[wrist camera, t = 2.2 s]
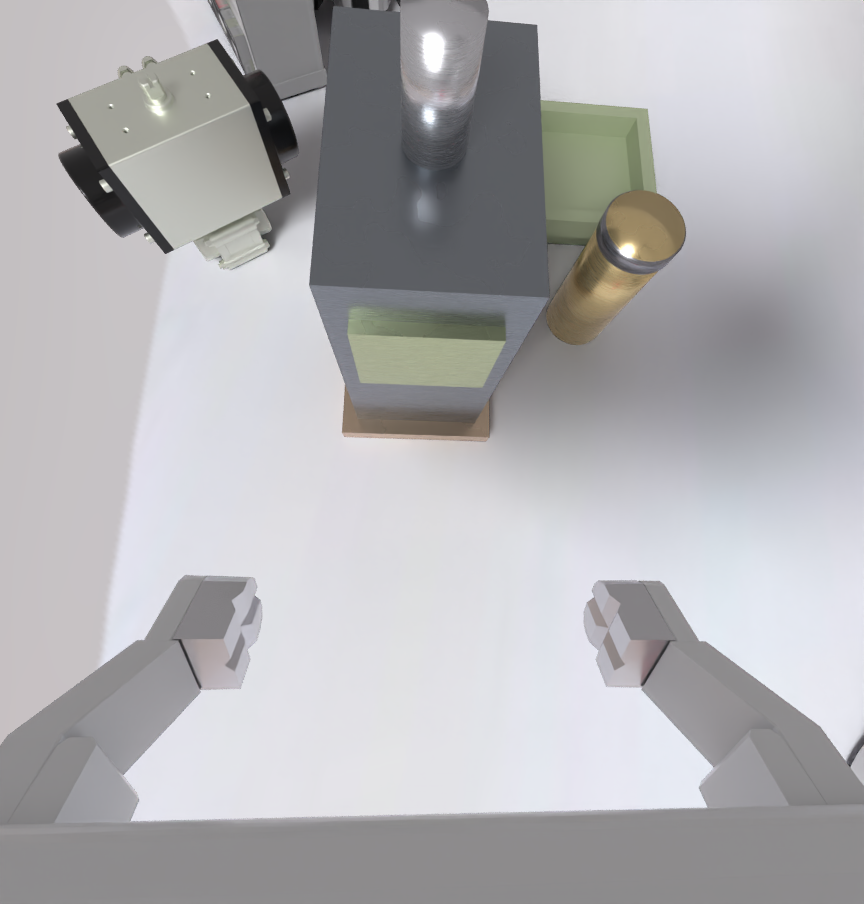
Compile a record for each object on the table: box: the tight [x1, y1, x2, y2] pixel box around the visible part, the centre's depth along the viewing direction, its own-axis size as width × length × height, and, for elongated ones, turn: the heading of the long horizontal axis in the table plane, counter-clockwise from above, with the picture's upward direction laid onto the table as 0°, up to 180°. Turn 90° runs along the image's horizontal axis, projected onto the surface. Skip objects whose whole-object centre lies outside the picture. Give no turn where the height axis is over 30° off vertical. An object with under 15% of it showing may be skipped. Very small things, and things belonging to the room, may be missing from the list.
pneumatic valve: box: [57, 39, 299, 270], centre depth 27 cm, size 6×12×12 cm, turn 124°
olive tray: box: [541, 100, 657, 246], centre depth 34 cm, size 16×11×2 cm
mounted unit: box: [309, 0, 549, 441], centre depth 22 cm, size 10×14×21 cm
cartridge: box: [546, 190, 686, 345], centre depth 28 cm, size 5×5×10 cm
